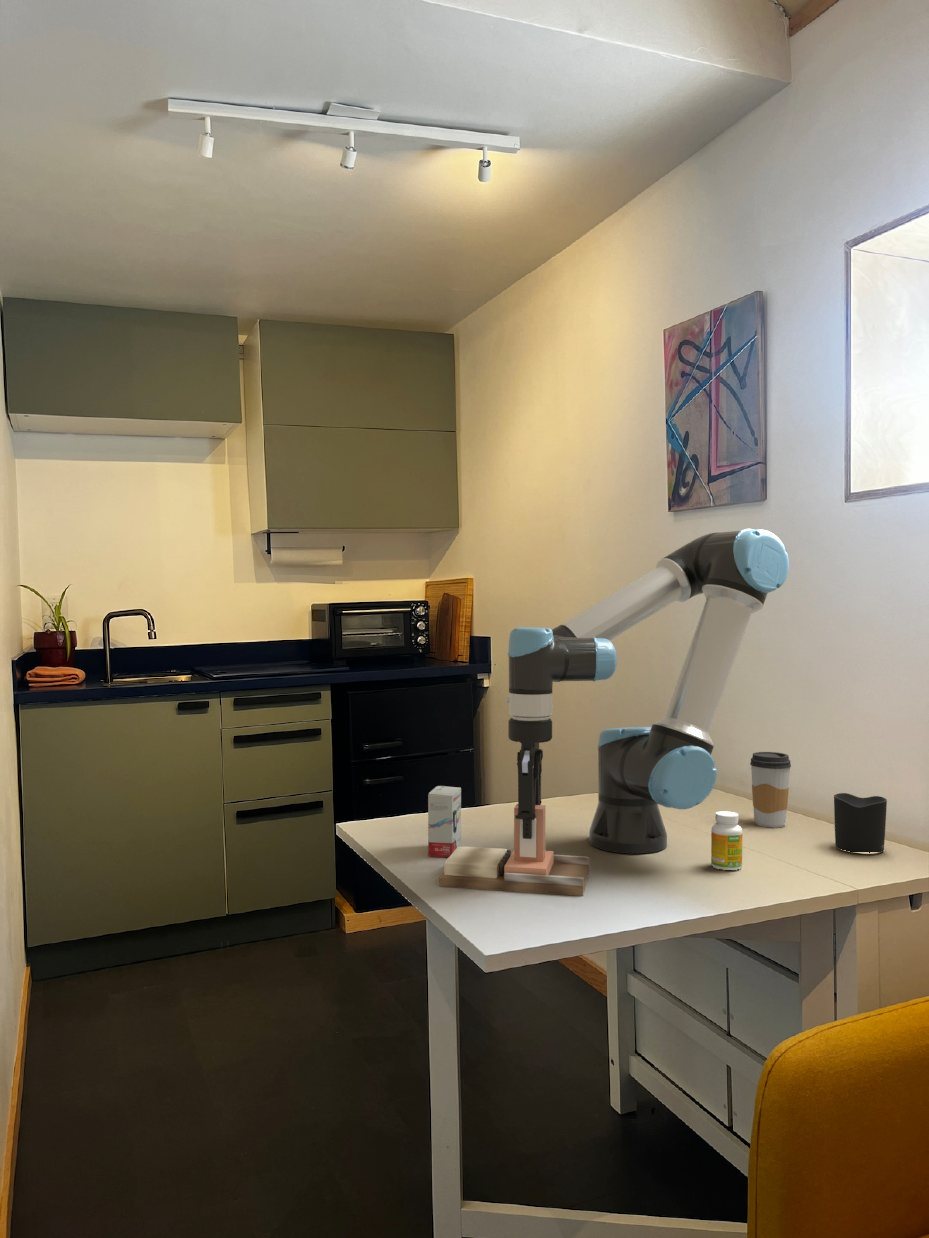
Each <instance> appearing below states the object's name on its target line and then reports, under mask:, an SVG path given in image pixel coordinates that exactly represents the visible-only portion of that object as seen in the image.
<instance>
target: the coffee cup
mask: <svg viewBox="0 0 929 1238" xmlns="http://www.w3.org/2000/svg"><path fill="white" fill-rule="evenodd" d="M791 762H792V761H791V760H790V757H789V755H788V754H787V753H783V752H778V751H777V752H776V751H757V752H753V753H752V757H750V763H749V764H750V769H751V792H752V807H753V821H754V822H755V825H757V826H759V827H763V828H772V829H774V828H777V829H778V828H779V829H780V828H783V827H785V824H786V823H787V812H788V802H789V801H788V800H789V789H790V787H789V785H790V775H791V771H790V770H791V767H792V765H791Z"/></svg>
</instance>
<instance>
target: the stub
mask: <svg viewBox="0 0 929 1238" xmlns="http://www.w3.org/2000/svg"><path fill="white" fill-rule="evenodd" d="M513 808H514V809H513V810H514V811H513V825H514V826H513V851H511V856H510V858H509V859H508V861H507V863H506V864H505V866H504V874H505V872H508V873H523V874H538V875H549V872H550V870H551V868H552V865H553V863H554V855H555V851H553V850H546V805H543V804H541V805H535V815H536V816H535V818H536V858H534V857H520V819H516V818H515V815H518V803H517V804H516V805H514V807H513Z"/></svg>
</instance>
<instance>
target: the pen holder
mask: <svg viewBox="0 0 929 1238" xmlns="http://www.w3.org/2000/svg"><path fill="white" fill-rule="evenodd" d="M887 804H888V799H887V798H885V797H883V796H879V795H873V796H868V797H859V796H856V795H854V794H851V793H847V792H841V793H836V794H834V795H833V810H834V812H833V813H834V818H833V819H834V842H835V847H836V848H837V847H838V848H839V849H838V848H837V849H838V850H840V849H842V850H846V851H850V852H869V853H870V852H881V851H882V852H883V851H884V850H885V838H886V823H887V808H888V807H887ZM842 850H841V851H842Z"/></svg>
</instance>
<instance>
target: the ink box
mask: <svg viewBox="0 0 929 1238" xmlns="http://www.w3.org/2000/svg"><path fill="white" fill-rule="evenodd" d="M427 797H428V798H427V803H428V804H427V807H428V809H427V810H428V813H427V814H428V815H427V816H428V817H427V819H428V821H427V828H428V830H427V831H428V833H427V834H428V835H427V837H428V838H427V840H428V843H427V844H428V845H427V849H428V852H427V854H428V855H427V856H428V857H434V858H435V857H436V858H437V857H438V858H439V857H440V858H449V857H450V856H451V854H452V853H453V852H454V851H455V850H456V848H457V847H458V846H462V809H461V808H462V788H461V787H460V786H459V787H455V786H445V785H437V786H435V787H434V788H433V789H431V790H430V792H428V795H427Z"/></svg>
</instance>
